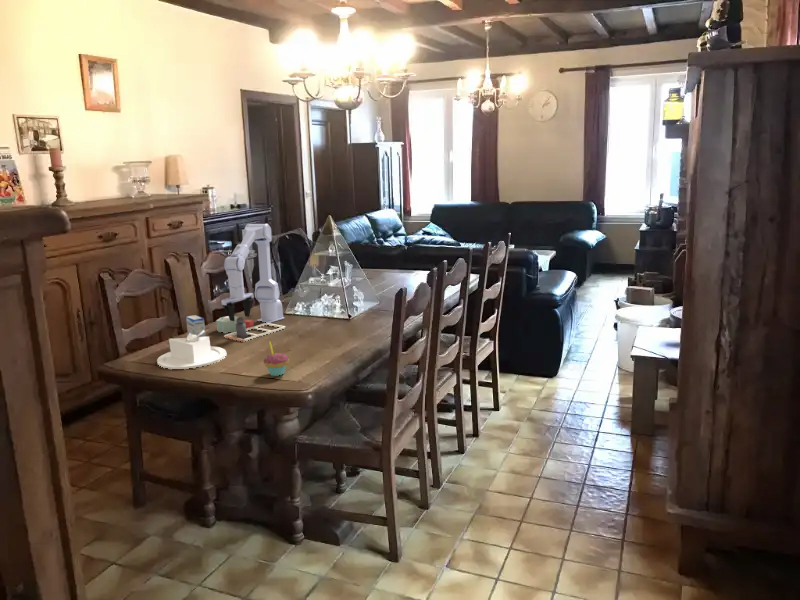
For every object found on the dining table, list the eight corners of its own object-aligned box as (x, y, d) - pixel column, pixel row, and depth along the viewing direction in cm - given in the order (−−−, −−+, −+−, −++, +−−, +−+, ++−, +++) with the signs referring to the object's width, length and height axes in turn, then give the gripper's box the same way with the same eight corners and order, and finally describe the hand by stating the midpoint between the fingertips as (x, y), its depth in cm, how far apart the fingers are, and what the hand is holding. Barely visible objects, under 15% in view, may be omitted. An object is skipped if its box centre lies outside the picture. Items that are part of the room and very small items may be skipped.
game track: (266, 324, 290) (266, 322, 290) (286, 328, 282) (286, 326, 282) (224, 337, 273) (223, 335, 273) (243, 342, 265) (243, 339, 265)
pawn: (244, 335, 275) (242, 315, 273) (248, 337, 271) (246, 317, 269) (235, 337, 273) (233, 317, 271) (238, 339, 269) (236, 318, 267)
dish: (238, 350, 256) (235, 322, 253) (202, 372, 232) (198, 341, 230) (183, 347, 263) (180, 320, 260) (143, 368, 239) (138, 338, 237)
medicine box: (187, 336, 277) (185, 316, 275) (197, 334, 279) (195, 314, 277) (196, 340, 271) (193, 319, 269) (206, 338, 274) (204, 317, 272)
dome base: (230, 326, 290) (228, 315, 289) (244, 329, 284) (242, 318, 283) (214, 330, 284) (212, 319, 283) (228, 334, 278) (226, 322, 277)
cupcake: (261, 377, 223) (258, 343, 221) (269, 369, 232) (266, 336, 229) (286, 378, 222) (283, 343, 219) (293, 369, 230) (290, 336, 228)
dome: (230, 324, 288) (229, 314, 287) (238, 326, 284) (237, 316, 283) (218, 327, 283) (217, 318, 282) (227, 329, 280) (226, 319, 279)
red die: (247, 326, 288) (246, 319, 288) (253, 326, 287) (253, 319, 287) (243, 328, 285) (242, 321, 285) (250, 328, 284) (249, 321, 284)
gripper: (244, 281, 275) (247, 313, 278) (215, 288, 264) (219, 321, 267) (255, 283, 271) (258, 315, 274) (226, 290, 260) (230, 323, 263)
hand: (239, 318), depth 270 cm, fingers open, 7 cm apart
